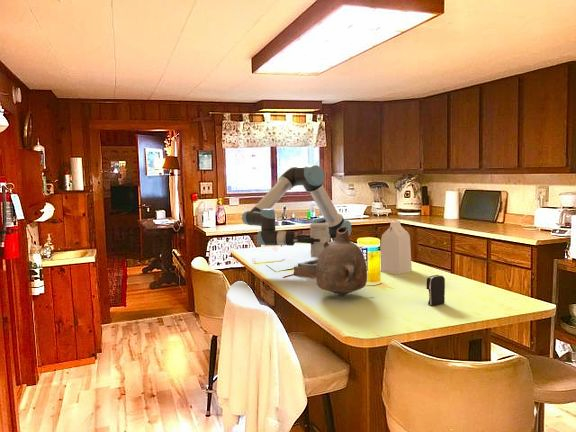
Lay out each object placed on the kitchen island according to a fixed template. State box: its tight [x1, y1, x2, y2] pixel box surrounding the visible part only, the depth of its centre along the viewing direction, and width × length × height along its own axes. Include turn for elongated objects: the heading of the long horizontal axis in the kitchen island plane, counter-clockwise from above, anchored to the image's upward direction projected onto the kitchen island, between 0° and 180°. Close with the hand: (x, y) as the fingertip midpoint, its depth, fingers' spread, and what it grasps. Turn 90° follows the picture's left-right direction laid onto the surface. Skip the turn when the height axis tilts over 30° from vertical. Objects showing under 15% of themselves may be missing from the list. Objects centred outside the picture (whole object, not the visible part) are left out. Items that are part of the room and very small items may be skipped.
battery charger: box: [426, 274, 446, 307], centre depth 188 cm, size 7×4×11 cm, turn 117°
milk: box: [380, 220, 413, 275], centre depth 248 cm, size 12×12×26 cm
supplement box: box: [309, 222, 329, 258], centre depth 248 cm, size 10×9×17 cm
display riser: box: [293, 258, 318, 279], centre depth 249 cm, size 20×20×6 cm
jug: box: [315, 226, 368, 297], centre depth 203 cm, size 24×21×30 cm
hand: (328, 238), depth 247 cm, fingers closed on supplement box, 10 cm apart
